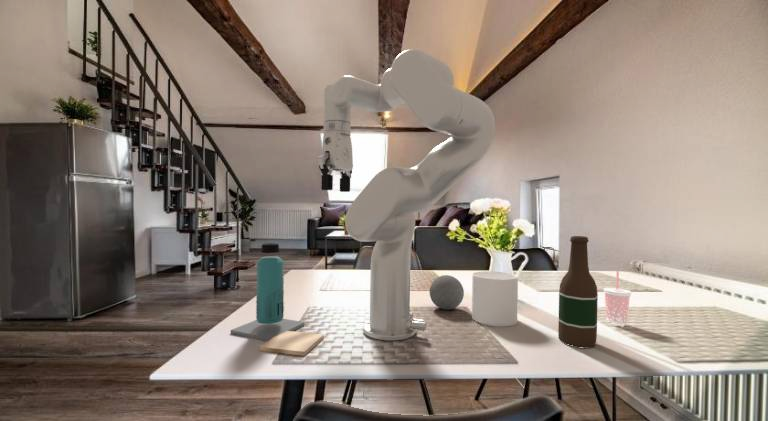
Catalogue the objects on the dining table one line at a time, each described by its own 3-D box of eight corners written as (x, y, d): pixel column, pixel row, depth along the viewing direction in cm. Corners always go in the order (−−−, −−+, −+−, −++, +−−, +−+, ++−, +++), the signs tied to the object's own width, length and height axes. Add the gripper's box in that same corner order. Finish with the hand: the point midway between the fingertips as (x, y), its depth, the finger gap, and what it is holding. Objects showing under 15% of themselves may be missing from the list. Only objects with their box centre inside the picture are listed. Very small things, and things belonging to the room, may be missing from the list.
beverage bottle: (279, 330, 83) (280, 244, 83) (250, 330, 83) (251, 244, 83) (287, 321, 89) (288, 242, 89) (261, 321, 89) (262, 241, 89)
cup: (468, 323, 93) (469, 277, 93) (474, 311, 104) (475, 270, 104) (516, 329, 89) (517, 281, 89) (517, 316, 100) (518, 273, 99)
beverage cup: (626, 329, 90) (627, 274, 89) (599, 323, 94) (600, 270, 94) (633, 324, 94) (634, 271, 93) (607, 319, 98) (608, 268, 98)
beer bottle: (582, 351, 75) (585, 238, 75) (550, 339, 82) (552, 235, 82) (604, 345, 79) (607, 237, 79) (572, 334, 86) (574, 234, 86)
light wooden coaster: (323, 338, 81) (323, 334, 81) (304, 355, 71) (304, 351, 71) (283, 333, 83) (283, 330, 83) (259, 350, 73) (259, 346, 73)
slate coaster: (304, 325, 89) (304, 322, 89) (271, 341, 78) (271, 338, 78) (266, 318, 94) (266, 315, 94) (230, 333, 83) (230, 330, 83)
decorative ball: (463, 305, 109) (463, 273, 109) (463, 315, 100) (464, 279, 99) (430, 303, 111) (431, 271, 111) (427, 312, 102) (428, 277, 101)
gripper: (332, 122, 91) (331, 189, 91) (362, 135, 107) (361, 192, 107) (307, 124, 94) (307, 189, 94) (340, 136, 110) (340, 192, 110)
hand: (336, 190), depth 100 cm, fingers open, 9 cm apart
